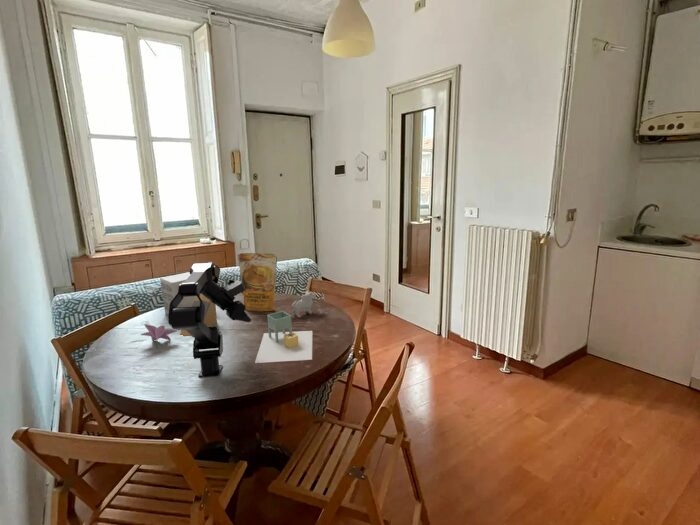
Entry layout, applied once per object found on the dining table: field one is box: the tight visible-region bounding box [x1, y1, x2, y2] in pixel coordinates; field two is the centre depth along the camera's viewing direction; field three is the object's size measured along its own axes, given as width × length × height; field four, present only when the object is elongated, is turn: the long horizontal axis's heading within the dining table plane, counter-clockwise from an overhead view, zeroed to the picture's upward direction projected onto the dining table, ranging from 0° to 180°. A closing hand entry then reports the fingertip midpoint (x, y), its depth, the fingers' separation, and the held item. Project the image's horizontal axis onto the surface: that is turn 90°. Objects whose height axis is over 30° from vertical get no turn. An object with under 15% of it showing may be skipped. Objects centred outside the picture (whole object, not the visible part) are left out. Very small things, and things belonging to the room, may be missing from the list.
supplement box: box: [159, 271, 196, 316], centre depth 177 cm, size 17×13×18 cm
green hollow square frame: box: [266, 310, 293, 343], centre depth 147 cm, size 7×7×10 cm
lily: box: [140, 323, 178, 350], centre depth 143 cm, size 12×12×10 cm
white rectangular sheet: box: [254, 330, 313, 364], centre depth 141 cm, size 25×20×1 cm
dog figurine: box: [291, 290, 317, 318], centre depth 173 cm, size 5×13×11 cm, turn 133°
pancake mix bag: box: [237, 252, 278, 312], centre depth 178 cm, size 7×19×28 cm, turn 79°
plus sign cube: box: [284, 333, 299, 348], centre depth 140 cm, size 4×4×4 cm
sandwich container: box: [179, 294, 218, 338], centre depth 156 cm, size 9×15×15 cm, turn 166°
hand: (245, 317), depth 135 cm, fingers open, 9 cm apart
